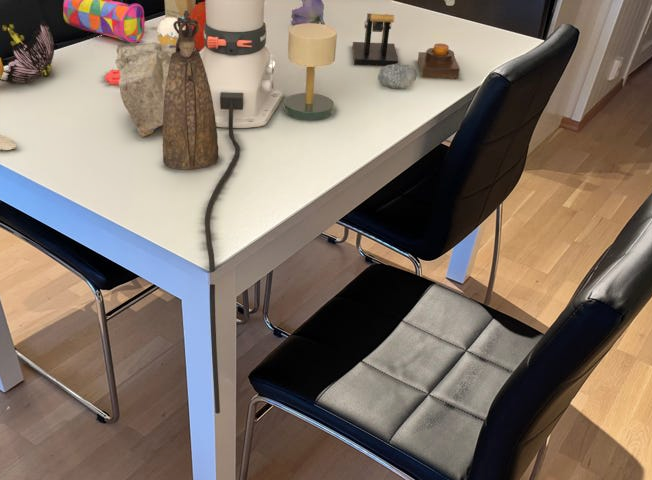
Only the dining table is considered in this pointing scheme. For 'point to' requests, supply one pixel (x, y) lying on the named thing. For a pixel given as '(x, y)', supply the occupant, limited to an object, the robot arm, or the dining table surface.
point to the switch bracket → (375, 48)
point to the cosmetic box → (178, 7)
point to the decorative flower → (30, 55)
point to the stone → (144, 82)
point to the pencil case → (106, 18)
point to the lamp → (310, 68)
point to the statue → (188, 106)
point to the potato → (1, 69)
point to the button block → (438, 65)
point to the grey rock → (397, 75)
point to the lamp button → (440, 49)
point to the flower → (308, 13)
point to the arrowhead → (6, 143)
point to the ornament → (168, 31)
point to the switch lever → (380, 21)
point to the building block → (113, 77)
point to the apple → (199, 24)
